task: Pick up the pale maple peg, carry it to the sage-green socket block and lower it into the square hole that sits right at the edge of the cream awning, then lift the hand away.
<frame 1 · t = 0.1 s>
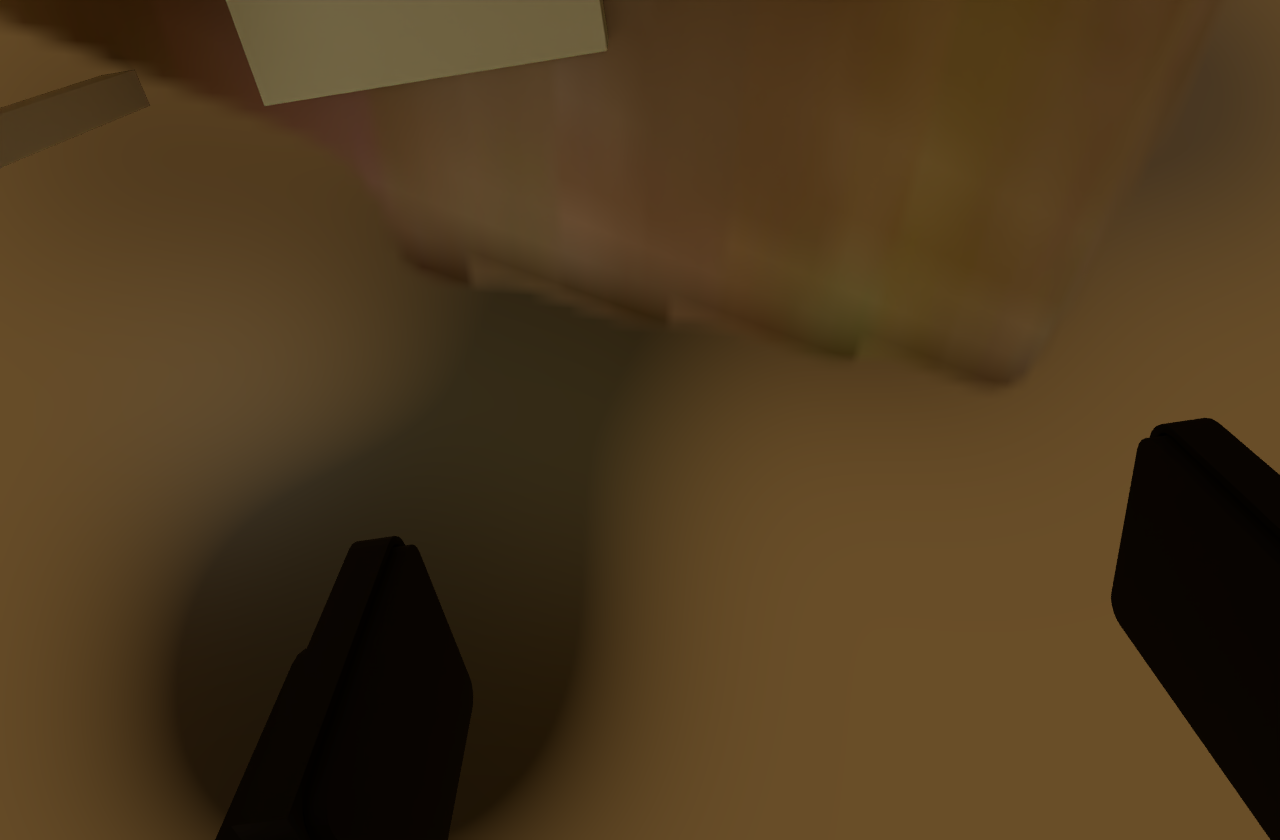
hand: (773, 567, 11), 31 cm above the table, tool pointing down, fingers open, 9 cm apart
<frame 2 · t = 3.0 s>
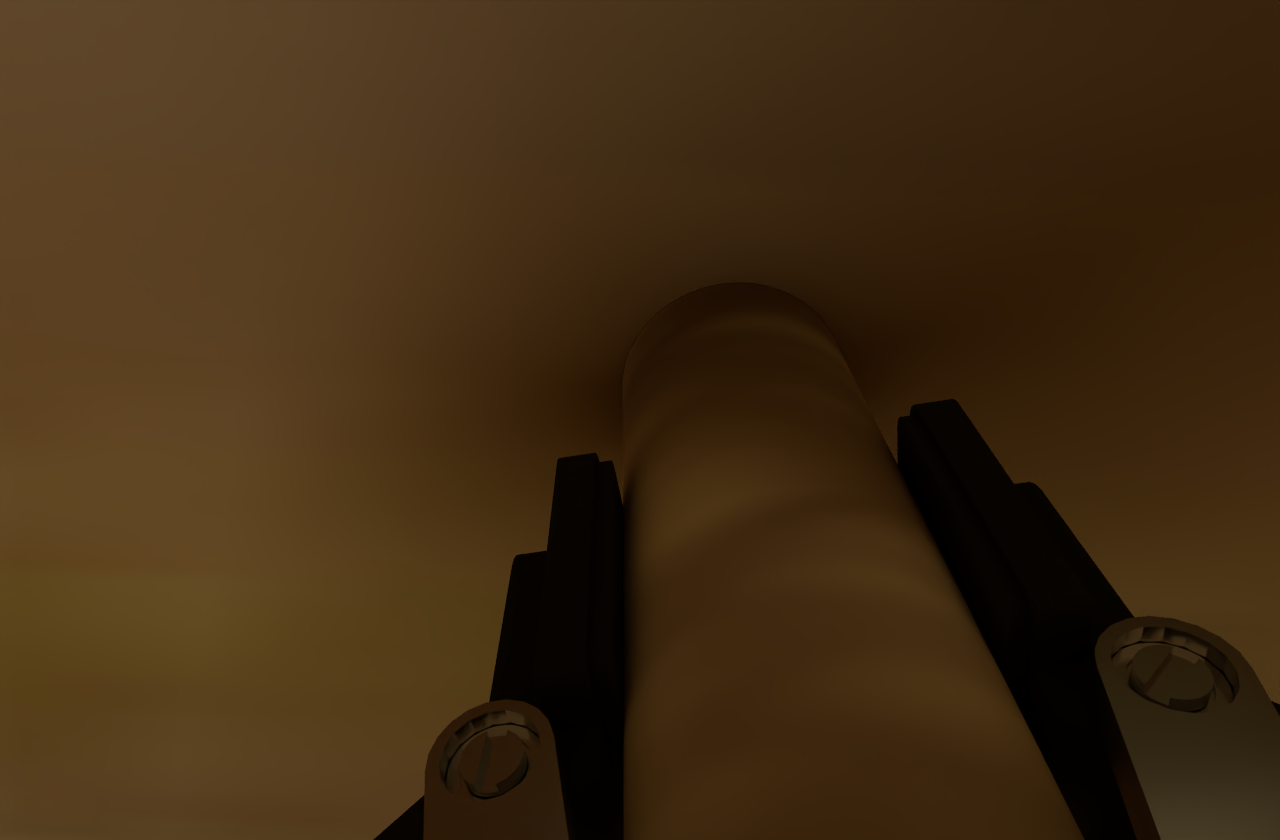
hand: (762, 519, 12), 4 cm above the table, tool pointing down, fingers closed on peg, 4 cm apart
peg: (731, 385, 15), on the table, touching gripper
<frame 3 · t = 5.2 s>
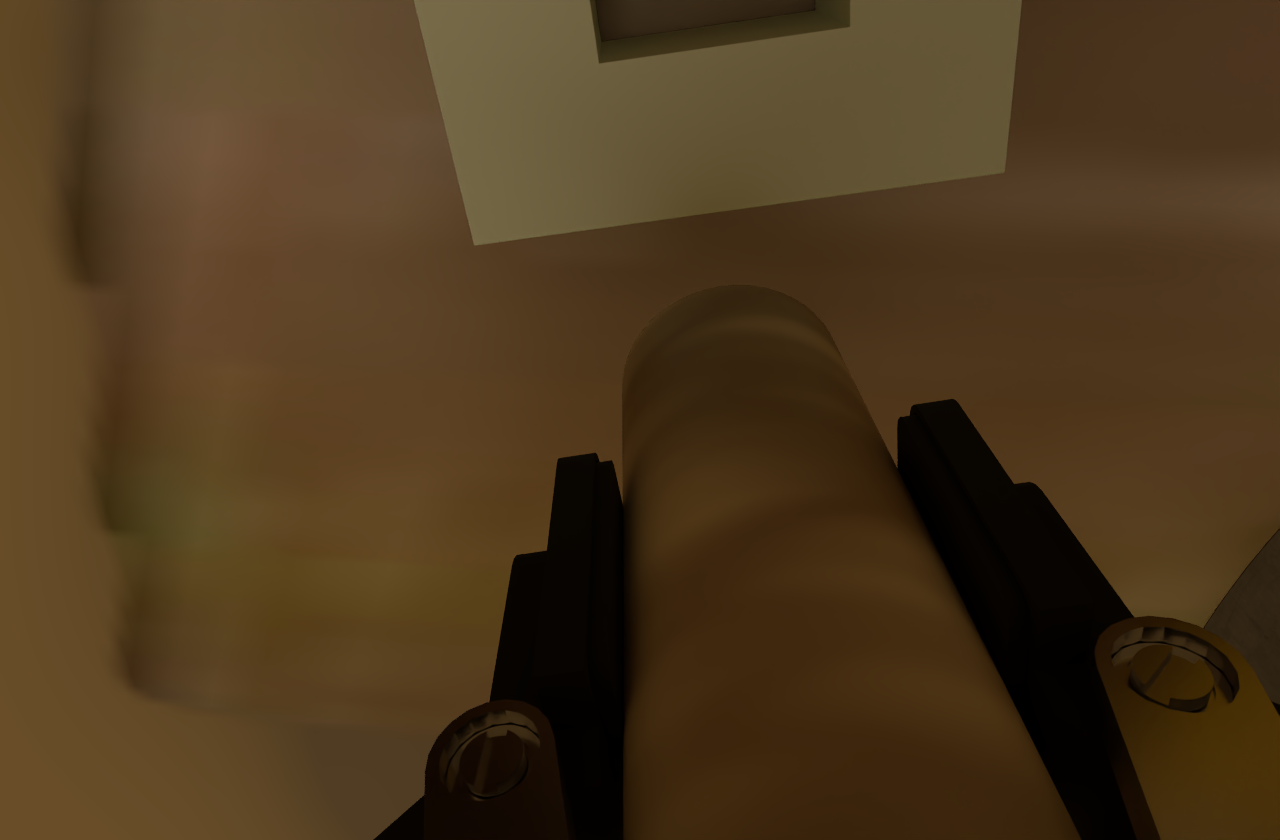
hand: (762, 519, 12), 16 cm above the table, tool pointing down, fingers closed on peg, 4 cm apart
hip flask: (1230, 641, 37), on the table
peg: (731, 387, 15), point 12 cm above the table, touching gripper
when the fingers open (5 cm above the table, at t = 7.8 s): peg drops 1 cm, resting in socket block.
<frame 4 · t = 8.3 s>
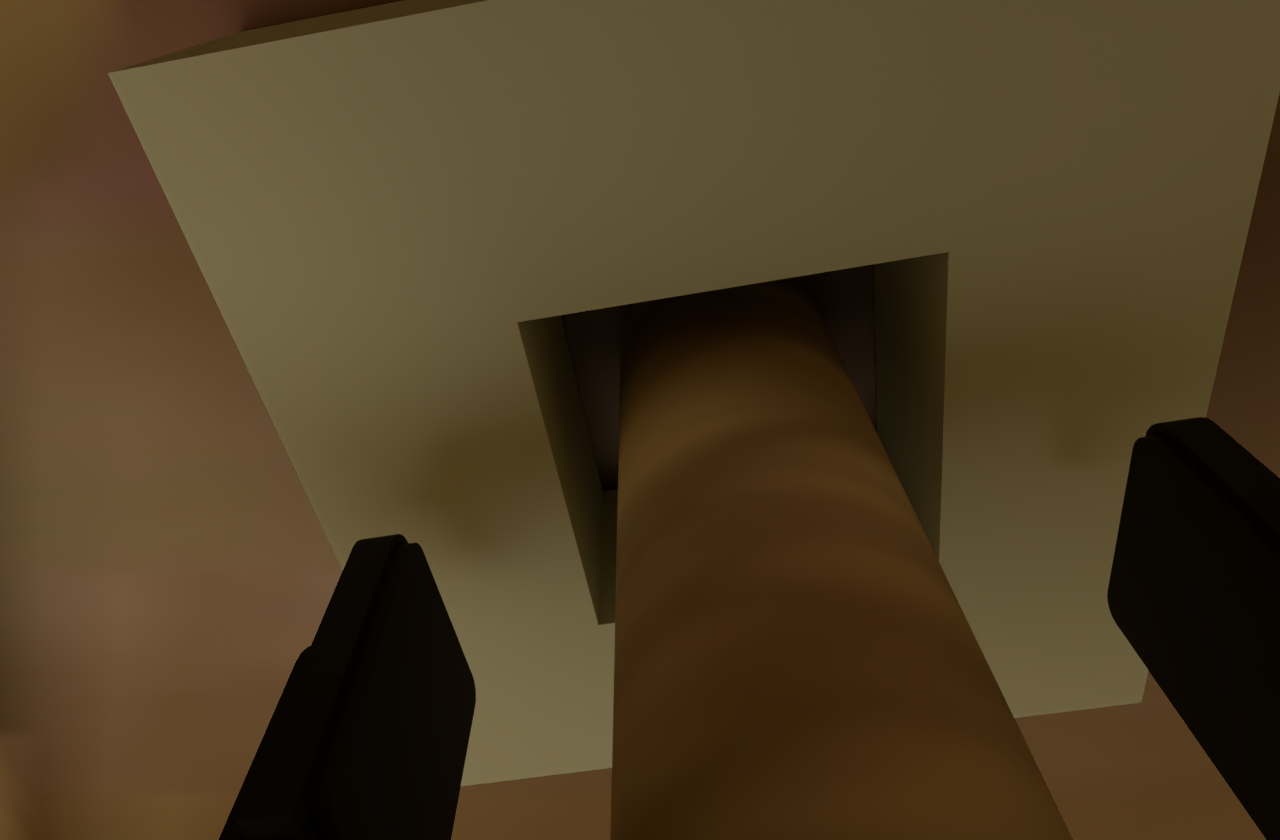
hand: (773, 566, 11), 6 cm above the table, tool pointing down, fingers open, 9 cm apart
socket block: (722, 349, 16), on the table
peg: (721, 350, 16), resting in socket block
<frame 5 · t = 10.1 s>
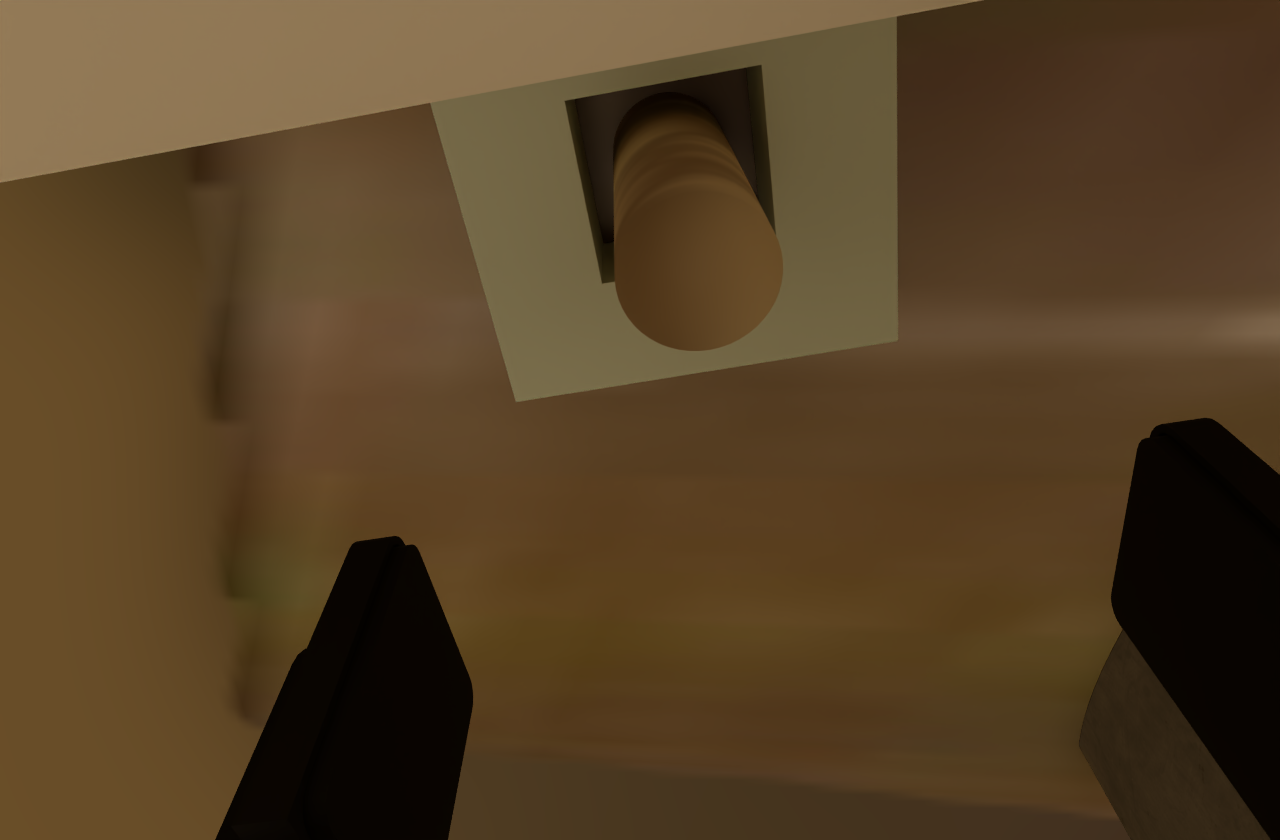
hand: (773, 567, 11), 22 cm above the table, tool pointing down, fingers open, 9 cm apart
hip flask: (1137, 658, 45), on the table
socket block: (669, 150, 30), on the table
peg: (668, 151, 30), resting in socket block
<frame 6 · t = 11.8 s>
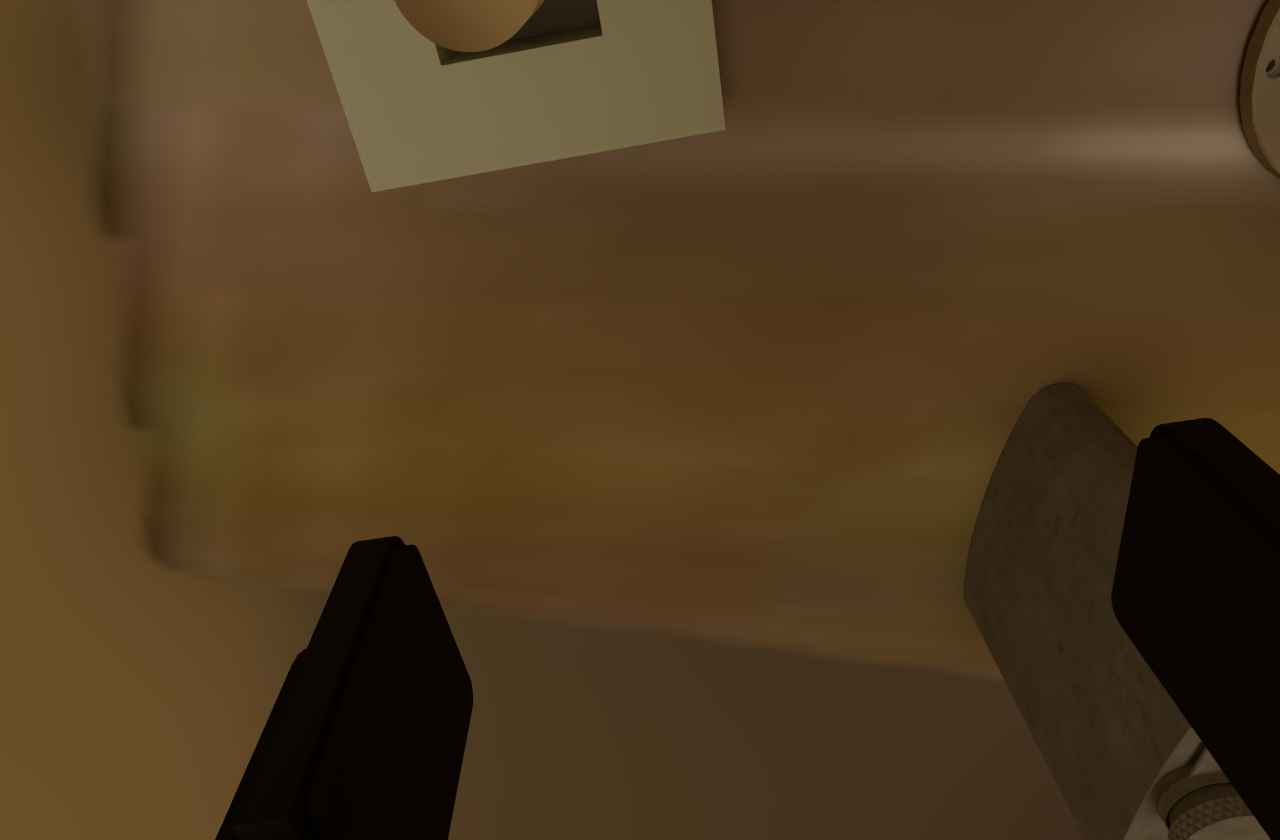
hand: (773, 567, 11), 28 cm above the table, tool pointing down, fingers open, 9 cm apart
hip flask: (1011, 504, 47), on the table
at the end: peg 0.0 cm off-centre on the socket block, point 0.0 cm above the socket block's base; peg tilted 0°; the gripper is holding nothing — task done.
